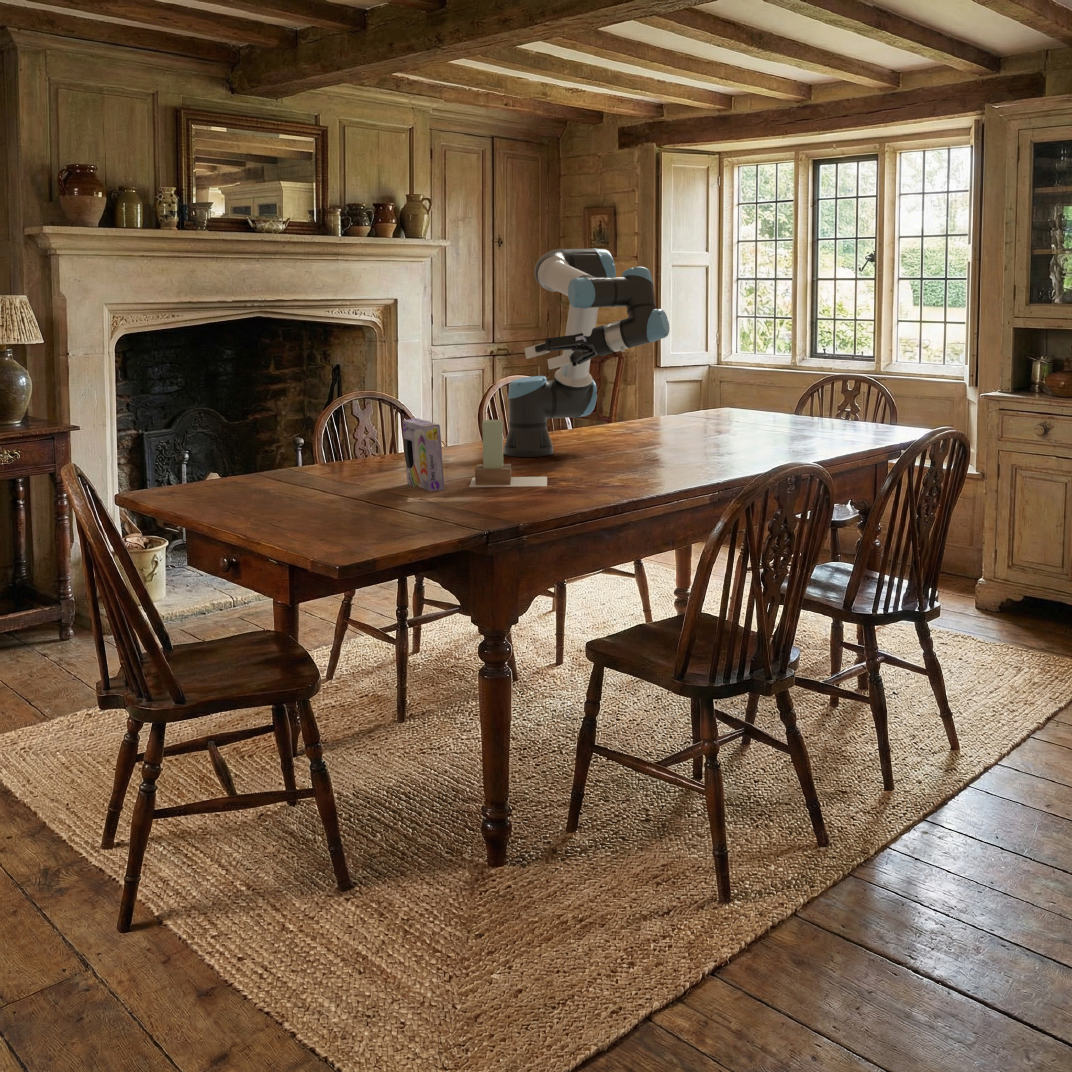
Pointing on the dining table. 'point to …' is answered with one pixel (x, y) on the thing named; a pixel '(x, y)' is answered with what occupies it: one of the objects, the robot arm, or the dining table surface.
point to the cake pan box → (423, 454)
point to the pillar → (492, 443)
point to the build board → (517, 482)
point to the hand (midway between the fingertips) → (537, 359)
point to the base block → (493, 475)
